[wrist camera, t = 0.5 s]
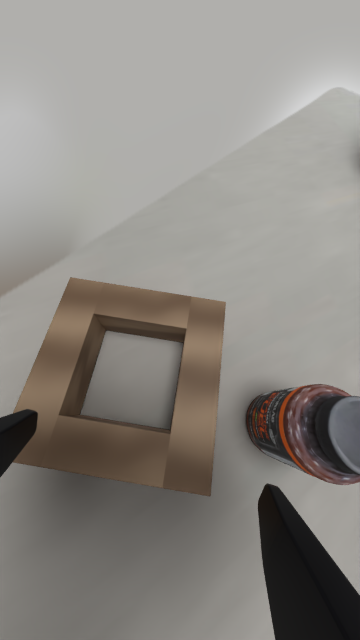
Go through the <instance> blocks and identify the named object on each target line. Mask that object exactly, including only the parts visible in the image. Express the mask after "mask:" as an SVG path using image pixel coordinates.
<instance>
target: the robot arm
mask: <svg viewBox="0 0 360 640" xmlns="http://www.w3.org/2000/svg"><path fill="white" fill-rule="evenodd" d="M37 420H38V412H37V411H34V410H31V409H25V410H22V411H19V412H16V413H13V414H10V415H7V416H4V417H1V418H0V477H1V476H2V475H3V474H4V472H5V471H6V470H7V469H8V467H9V466H10V465H11V464H12V462H13V461H14V460H15V458H16V457H17V456H18V455H19V453H20V452H21V451H22V450H23V448H24V447H25V446H26V444H27V443H28V442H29V441H30V439H31V438H32V437H33V435H34V434H35V432H36V429H37ZM258 514H259V526H260V538H261V550H262V560H263V568H264V575H265V581H266V587H267V593H268V599H269V605H270V611H271V617H272V623H273V629H274V635H275V640H360V595H359V594H358V593H357V591H356V590H355V589H354V587H353V586H352V585H351V583H350V582H349V580H348V579H347V578H346V576H345V575H344V574H343V572H342V571H341V570H340V568H339V567H338V566H337V564H336V563H335V562H334V560H333V559H332V558H331V556H330V555H329V554H328V552H327V551H326V550H325V548H324V547H323V546H322V544H321V543H320V542H319V540H318V539H317V538H316V536H315V535H314V534H313V532H312V531H311V530H310V528H309V527H308V526H307V524H306V523H305V522H304V520H303V519H302V518H301V516H300V515H299V514H298V512H297V511H296V510H295V508H294V507H293V506H292V504H291V503H290V502H289V500H288V499H287V498H286V496H285V495H284V494H283V492H282V491H281V490H280V489H279V488H278V487H277V486H274V485H271V484H266V485H265V486H264V489H263V491H262V493H261V496H260V498H259V501H258Z"/></svg>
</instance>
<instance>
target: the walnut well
mask: <svg viewBox="0 0 360 640" xmlns="http://www.w3.org/2000/svg"><path fill="white" fill-rule="evenodd" d="M225 305H226V302H222V301H216V300H210V299H203V298H197V297H191V296H184V295H178V294H172V293H166V292H159V291H153V290H147V289H140V288H134V287H128V286H121V285H115V284H109V283H103V282H96V281H90V280H84V279H77V278H71V277H70V280H69V282H68V284H67V287H66V289H65V291H64V294H63V296H62V298H61V301H60V303H59V306H58V308H57V310H56V313H55V315H54V317H53V320H52V322H51V325H50V327H49V329H48V332H47V334H46V336H45V339H44V341H43V343H42V346H41V348H40V351H39V353H38V355H37V358H36V360H35V362H34V365H33V367H32V369H31V372H30V374H29V377H28V379H27V381H26V384H25V386H24V388H23V391H22V393H21V396H20V398H19V400H18V403H17V405H16V407H15V410H14V412H13V413H16V412H19V411H22V410H25V409H31V410H34V411H37V412H38V420H37V429H36V432H35V434H34V435H33V437H32V438H31V439H30V441H29V442H28V443H27V444H26V446H25V447H24V448H23V450H22V451H21V452H20V453H19V455H18V456H17V457H16V458H15V460H14V461H13V462H14V463H20V464H26V465H32V466H37V467H43V468H49V469H55V470H61V471H66V472H72V473H78V474H84V475H89V476H95V477H101V478H107V479H112V480H118V481H124V482H130V483H136V484H141V485H147V486H153V487H159V488H164V489H170V490H176V491H182V492H188V493H193V494H199V495H205V496H210V495H211V482H212V470H213V457H214V445H215V432H216V419H217V407H218V394H219V381H220V369H221V356H222V343H223V331H224V318H225ZM106 330H109V331H115V332H121V333H127V334H134V335H140V336H146V337H152V338H158V339H164V340H171V341H177V342H183V350H182V356H181V363H180V369H179V376H178V382H177V389H176V396H175V402H174V409H173V415H172V422H171V428H170V430H167V429H161V428H155V427H149V426H143V425H137V424H131V423H125V422H119V421H113V420H107V419H101V418H96V417H90V416H84V415H80V412H81V409H82V406H83V402H84V399H85V396H86V393H87V389H88V386H89V383H90V380H91V377H92V373H93V370H94V367H95V364H96V360H97V357H98V354H99V351H100V347H101V344H102V341H103V338H104V335H105V331H106Z"/></svg>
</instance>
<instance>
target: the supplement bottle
mask: <svg viewBox="0 0 360 640" xmlns="http://www.w3.org/2000/svg"><path fill="white" fill-rule="evenodd" d="M247 428H248V432H249V434H250V437H251V439H252V441H253V442H254V444H255V445H256V446H257V447H258V448H259V449H260V450H261V451H262V452H264V453H265V454H267V455H268V456H270V457H272V458H274V459H277V460H279V461H281V462H283V463H285V464H288V465H290V466H292V467H294V468H296V469H299V470H301V471H303V472H305V473H307V474H309V475H312V476H314V477H317V478H319V479H321V480H323V481H326V482H329V483H333V484H339V485H349V484H354V483H358V482H360V397H358V396H351V395H349V394H348V393H346V392H345V391H343V390H341V389H339V388H336V387H333V386H329V385H323V384H314V385H307V386H301V387H295V388H289V389H284V390H279V391H273V392H268V393H265V394H262V395H260V396H258V397H257V398H256V399H255V400H254V401H253V402H252V403H251V405H250V407H249V409H248V412H247Z"/></svg>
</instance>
